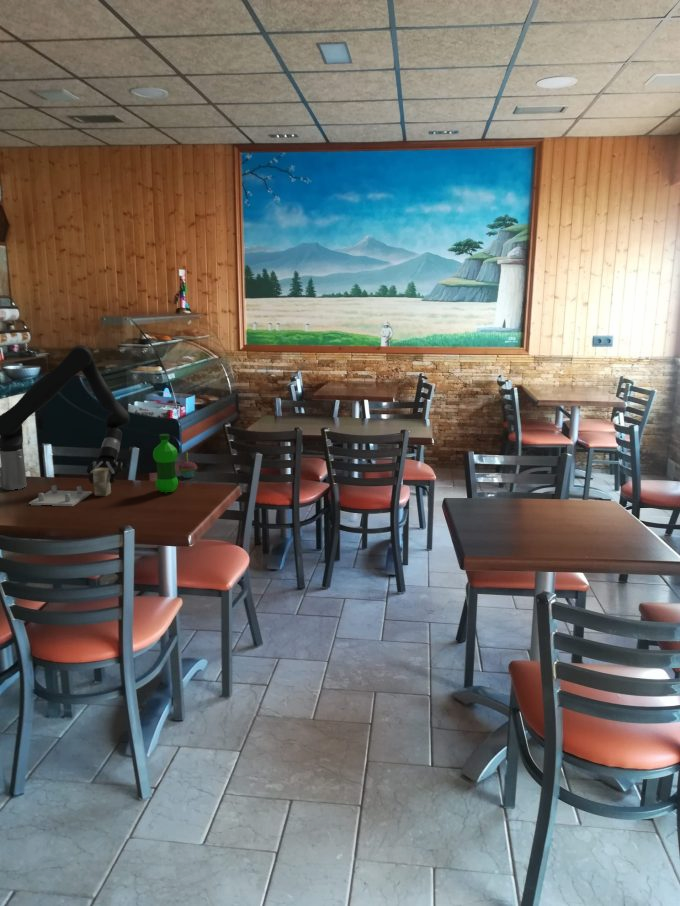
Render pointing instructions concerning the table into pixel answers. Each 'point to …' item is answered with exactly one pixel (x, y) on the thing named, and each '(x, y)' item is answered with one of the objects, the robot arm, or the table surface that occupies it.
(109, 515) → the table surface
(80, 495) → the peg plate
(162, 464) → the plastic bottle
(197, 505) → the table surface
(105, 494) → the birch block
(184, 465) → the cupcake
